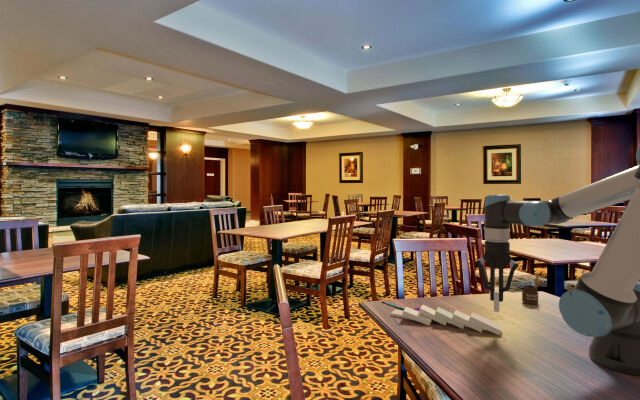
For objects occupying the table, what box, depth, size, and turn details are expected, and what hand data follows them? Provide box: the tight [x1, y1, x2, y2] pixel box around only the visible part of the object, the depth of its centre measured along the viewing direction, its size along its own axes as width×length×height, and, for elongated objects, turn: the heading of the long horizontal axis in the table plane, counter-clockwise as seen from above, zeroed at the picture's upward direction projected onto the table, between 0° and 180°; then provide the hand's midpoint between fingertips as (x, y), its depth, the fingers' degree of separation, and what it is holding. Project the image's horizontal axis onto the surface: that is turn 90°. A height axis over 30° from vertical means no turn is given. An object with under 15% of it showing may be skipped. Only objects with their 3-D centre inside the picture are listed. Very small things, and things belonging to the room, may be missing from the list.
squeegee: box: [381, 300, 427, 311], centre depth 143 cm, size 29×2×10 cm
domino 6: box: [469, 311, 503, 336], centre depth 120 cm, size 2×5×10 cm
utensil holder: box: [521, 274, 540, 306], centre depth 149 cm, size 6×6×12 cm
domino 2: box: [402, 306, 433, 327], centre depth 129 cm, size 2×5×10 cm
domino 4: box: [434, 306, 465, 330], centre depth 125 cm, size 2×5×10 cm
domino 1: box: [390, 309, 417, 322], centre depth 134 cm, size 2×5×10 cm
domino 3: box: [418, 304, 448, 326], centre depth 128 cm, size 2×5×10 cm
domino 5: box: [452, 309, 484, 334], centre depth 122 cm, size 2×5×10 cm
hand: (496, 310), depth 118 cm, fingers closed
